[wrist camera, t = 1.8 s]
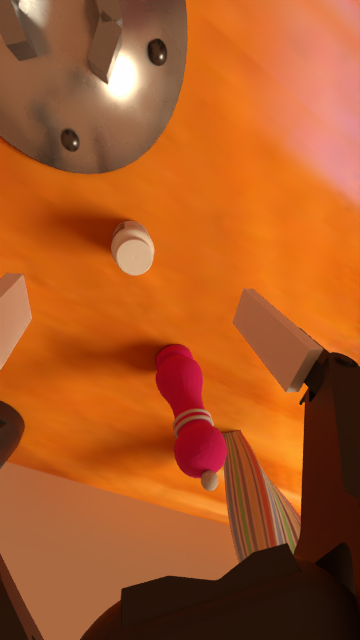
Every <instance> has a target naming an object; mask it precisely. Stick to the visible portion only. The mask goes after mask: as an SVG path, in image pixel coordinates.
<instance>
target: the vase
mask: <svg viewBox="0 0 360 640" xmlns="http://www.w3.org/2000/svg"><path fill="white" fill-rule="evenodd" d="M222 435H223V437H224V439H225V443H226V447H227V455H226V460H225V462H224V477H225V490H226V501H227V509H228V516H229V522H230V528H231V533H232V538H233V543H234V547H235V551H236V555H237V558H238V562H239V563H240V562H242V561H243V560H244V559H245V558H246V557H248V556H249V555H250V554H251V553H253V552H256V551H259V550H263V549H267V548H270V547H274V546H278V545H281V544H285V543H288V545H289V547H290V549H291V551H292V553H293V554H294V550H295V548H296V545H297V542H298V540H299V536H300V526H301V516H300V515H299V513H298V512H297V511H296V510H295V508H294V507H293V506H292V505H291V503H290V502H289V501H288V500H287V499H286V497H285V496H284V495H283V494H282V493H281V492H280V491H279V489H278V488H277V487H276V486H275V485H274V484H273V483H272V482H271V480H270V479H269V478H268V477H267V475H266V474H265V473H264V471H263V469H262V468H261V466H260V464H259V462H258V460H257V458H256V456H255V454H254V452H253V450H252V448H251V446H250V445H249V443H248V442H247V440H246V439H245V437H244V436H243V434H242V432H241V430H239V431H233V432H228V433H223V434H222Z"/></svg>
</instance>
